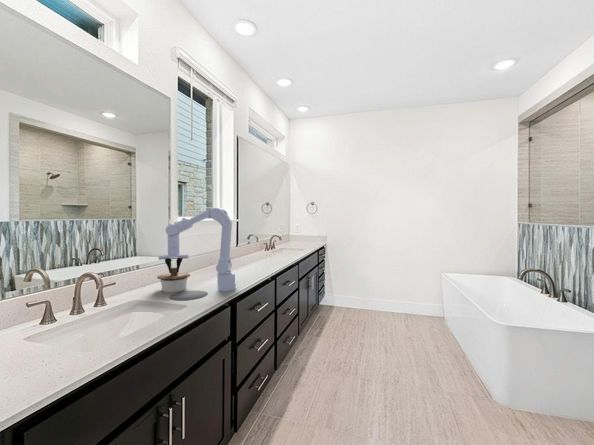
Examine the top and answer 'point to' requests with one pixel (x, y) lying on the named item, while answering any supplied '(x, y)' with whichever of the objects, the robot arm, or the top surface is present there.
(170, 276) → the lid
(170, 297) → the mat
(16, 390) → the top surface
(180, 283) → the ramekin
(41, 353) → the top surface
